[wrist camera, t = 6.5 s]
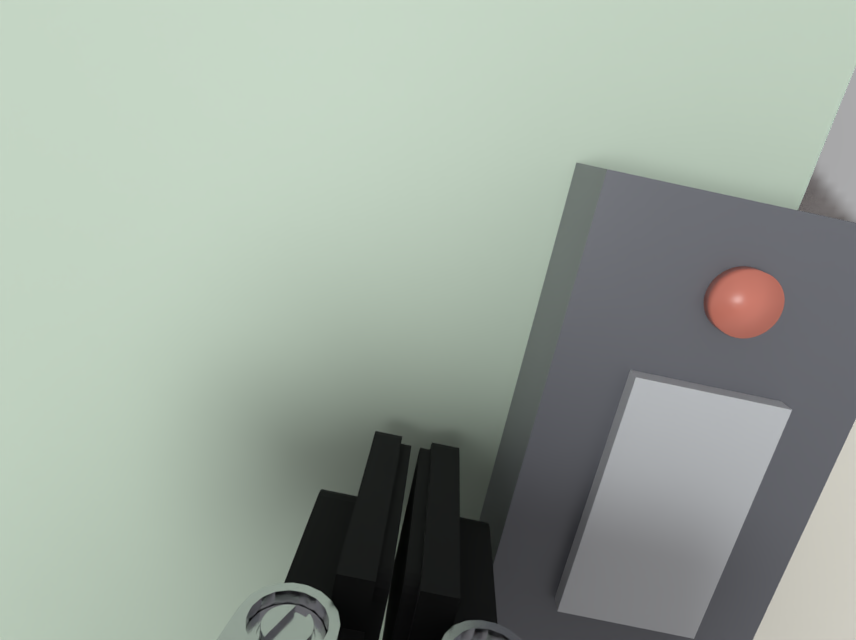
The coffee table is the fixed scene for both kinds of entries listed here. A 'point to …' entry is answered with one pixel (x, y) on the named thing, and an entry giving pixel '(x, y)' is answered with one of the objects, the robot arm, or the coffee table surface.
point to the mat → (821, 566)
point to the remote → (671, 413)
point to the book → (318, 253)
